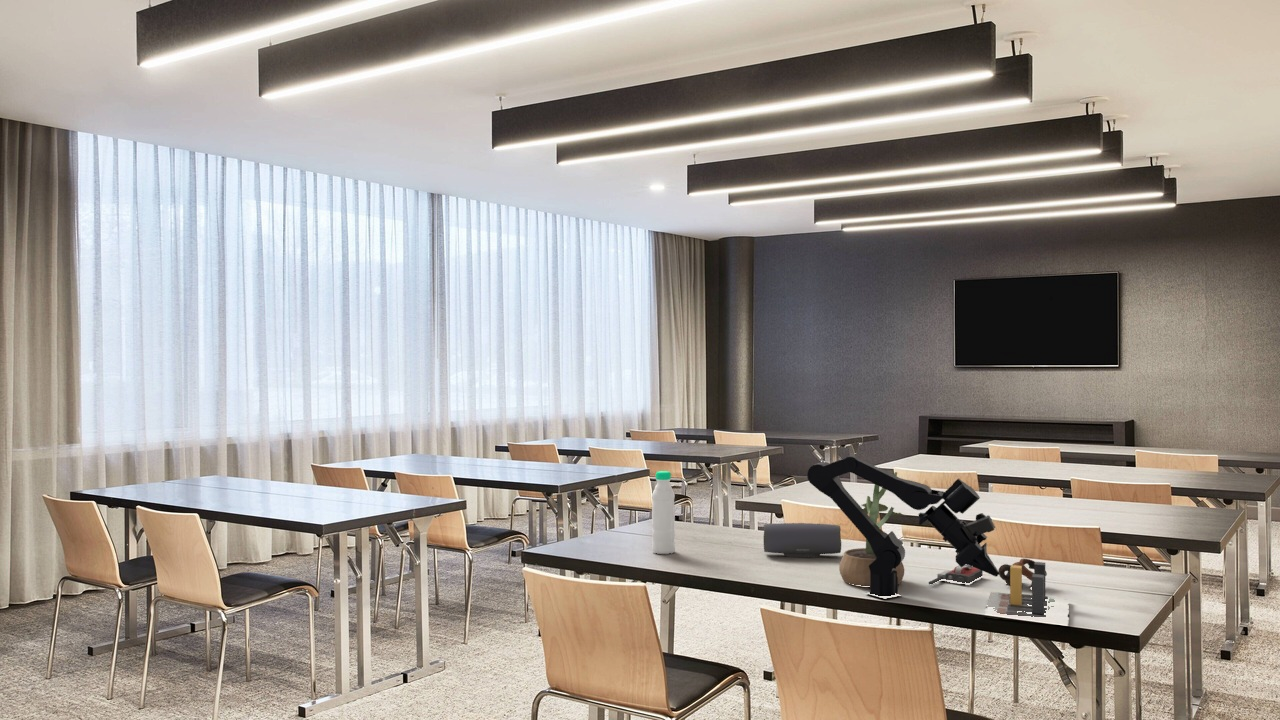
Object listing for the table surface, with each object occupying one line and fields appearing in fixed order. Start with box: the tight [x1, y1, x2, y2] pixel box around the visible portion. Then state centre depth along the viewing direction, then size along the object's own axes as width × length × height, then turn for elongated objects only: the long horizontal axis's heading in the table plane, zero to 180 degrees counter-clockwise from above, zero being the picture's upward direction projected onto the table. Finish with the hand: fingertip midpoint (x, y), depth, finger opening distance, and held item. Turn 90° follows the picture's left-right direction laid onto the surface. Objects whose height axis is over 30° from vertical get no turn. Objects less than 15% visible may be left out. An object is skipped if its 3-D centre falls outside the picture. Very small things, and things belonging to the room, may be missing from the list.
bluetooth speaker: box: [763, 522, 842, 558], centre depth 283 cm, size 23×9×10 cm, turn 84°
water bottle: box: [651, 470, 676, 555], centre depth 289 cm, size 7×7×25 cm
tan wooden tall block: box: [1009, 564, 1023, 605], centre depth 222 cm, size 2×3×9 cm
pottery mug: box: [997, 558, 1048, 587], centre depth 244 cm, size 12×10×8 cm
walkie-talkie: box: [928, 564, 984, 585], centre depth 250 cm, size 9×4×20 cm
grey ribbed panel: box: [985, 561, 1055, 617], centre depth 221 cm, size 18×22×10 cm
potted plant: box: [838, 471, 907, 586], centre depth 252 cm, size 22×18×30 cm
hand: (997, 575), depth 224 cm, fingers closed
